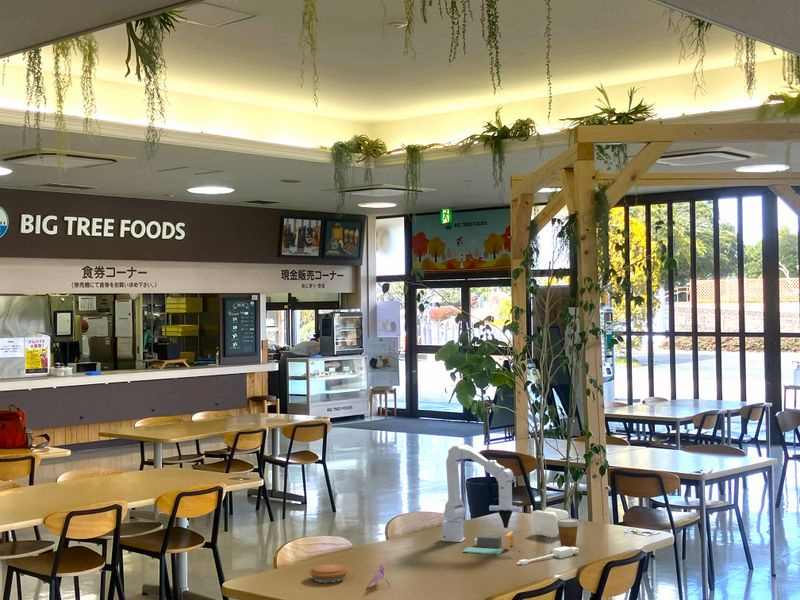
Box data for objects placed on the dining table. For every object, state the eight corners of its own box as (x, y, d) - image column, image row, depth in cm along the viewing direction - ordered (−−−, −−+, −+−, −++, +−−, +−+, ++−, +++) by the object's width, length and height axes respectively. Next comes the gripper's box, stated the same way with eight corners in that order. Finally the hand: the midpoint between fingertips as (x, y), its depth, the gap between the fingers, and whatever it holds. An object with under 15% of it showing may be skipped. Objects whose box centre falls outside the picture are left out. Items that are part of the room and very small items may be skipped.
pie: (328, 572, 386) (328, 560, 386) (356, 578, 376) (356, 565, 376) (300, 580, 374) (300, 567, 374) (329, 587, 364) (329, 573, 364)
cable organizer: (570, 536, 444) (570, 511, 444) (555, 539, 437) (554, 514, 438) (546, 531, 456) (546, 506, 456) (531, 534, 449) (530, 509, 449)
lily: (391, 583, 371) (379, 561, 372) (406, 577, 362) (394, 554, 363) (368, 599, 363) (356, 576, 365) (383, 593, 354) (371, 570, 356)
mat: (462, 552, 415) (462, 551, 415) (467, 548, 423) (467, 547, 423) (498, 554, 410) (498, 553, 410) (503, 550, 417) (503, 549, 417)
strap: (505, 549, 419) (505, 535, 419) (510, 544, 427) (510, 531, 427) (509, 549, 418) (509, 535, 418) (513, 545, 426) (513, 531, 426)
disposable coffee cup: (578, 545, 426) (577, 517, 426) (580, 550, 416) (579, 522, 417) (556, 544, 427) (556, 517, 427) (558, 549, 417) (557, 522, 418)
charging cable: (514, 566, 395) (513, 558, 395) (571, 551, 412) (571, 544, 412) (522, 568, 390) (521, 560, 390) (579, 554, 408) (579, 546, 408)
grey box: (473, 547, 426) (473, 537, 426) (476, 545, 430) (476, 534, 430) (499, 548, 422) (499, 538, 422) (501, 546, 426) (501, 536, 426)
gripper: (487, 497, 422) (487, 528, 422) (519, 499, 417) (519, 530, 417) (491, 494, 429) (491, 525, 429) (523, 496, 424) (523, 527, 424)
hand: (505, 527), depth 423 cm, fingers closed
